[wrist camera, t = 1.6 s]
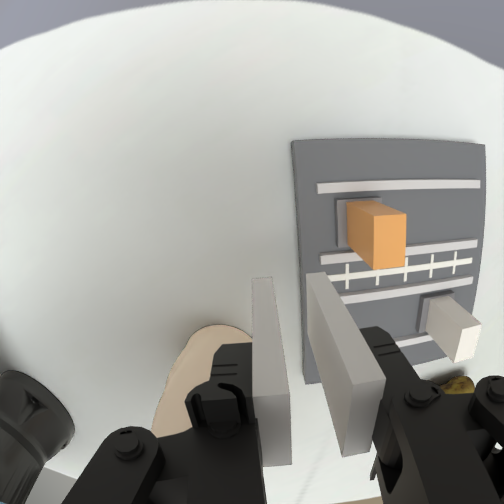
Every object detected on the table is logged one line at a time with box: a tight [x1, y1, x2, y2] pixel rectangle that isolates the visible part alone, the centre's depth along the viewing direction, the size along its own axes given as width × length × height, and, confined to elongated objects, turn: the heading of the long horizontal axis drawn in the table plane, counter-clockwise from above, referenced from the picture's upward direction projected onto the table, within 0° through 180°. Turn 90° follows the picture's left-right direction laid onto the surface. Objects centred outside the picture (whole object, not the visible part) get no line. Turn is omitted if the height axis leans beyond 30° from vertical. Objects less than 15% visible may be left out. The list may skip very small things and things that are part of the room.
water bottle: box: [151, 325, 252, 438], centre depth 19 cm, size 10×9×28 cm
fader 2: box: [416, 290, 482, 363], centre depth 25 cm, size 4×4×7 cm
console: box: [291, 138, 486, 385], centre depth 28 cm, size 20×24×3 cm
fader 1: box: [334, 196, 406, 270], centre depth 23 cm, size 4×4×7 cm
